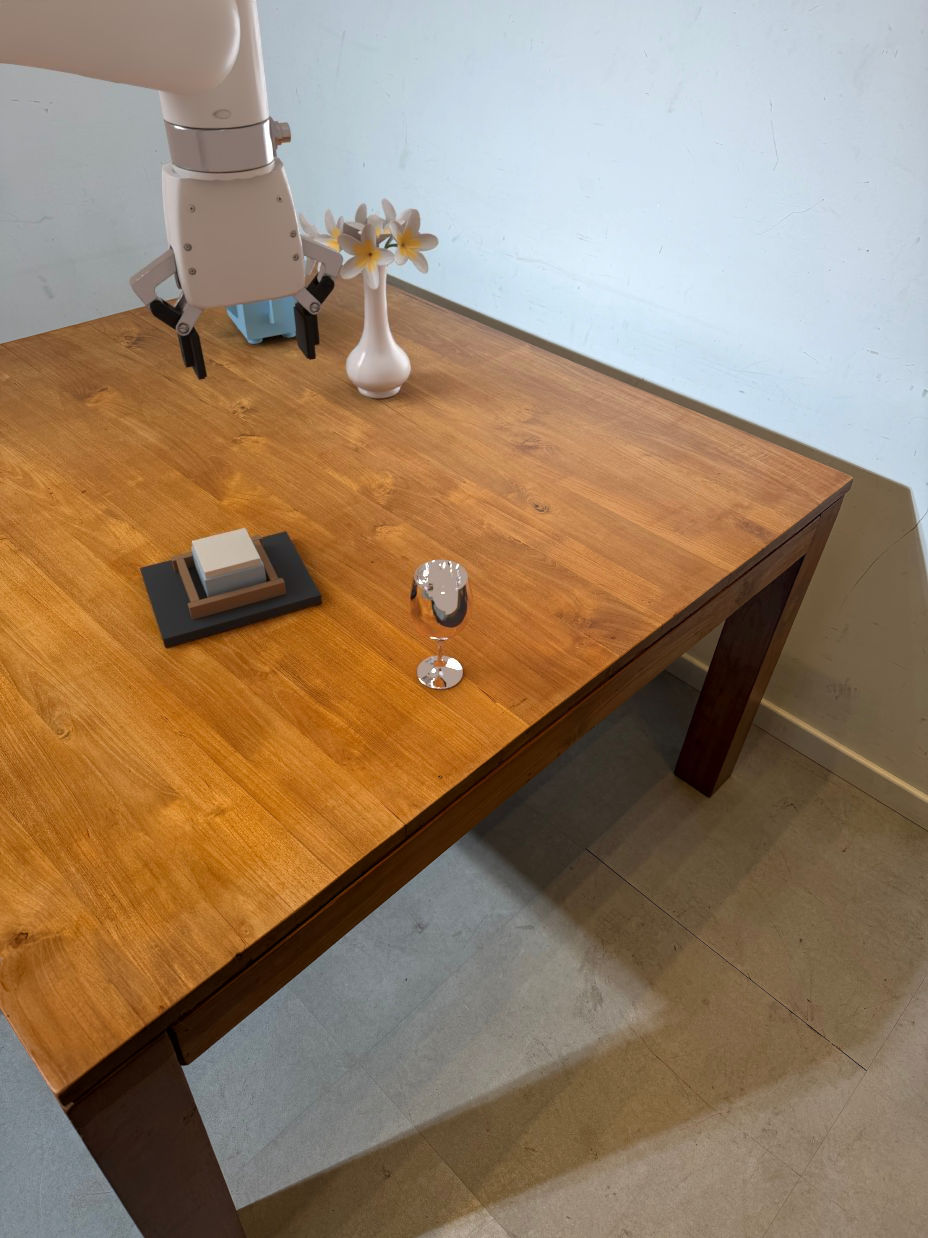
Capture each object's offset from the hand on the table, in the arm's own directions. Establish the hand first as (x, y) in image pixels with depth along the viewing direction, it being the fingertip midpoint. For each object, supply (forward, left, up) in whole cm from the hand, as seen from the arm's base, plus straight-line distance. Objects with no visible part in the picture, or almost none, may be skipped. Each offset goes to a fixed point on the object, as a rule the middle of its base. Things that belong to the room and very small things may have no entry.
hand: (254, 362), depth 73 cm
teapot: (+16, +60, -24) cm, 67 cm away
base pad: (-6, 0, -24) cm, 25 cm away
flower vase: (+24, +35, -24) cm, 49 cm away
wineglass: (+9, -20, -24) cm, 33 cm away
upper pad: (-6, 0, -23) cm, 24 cm away
